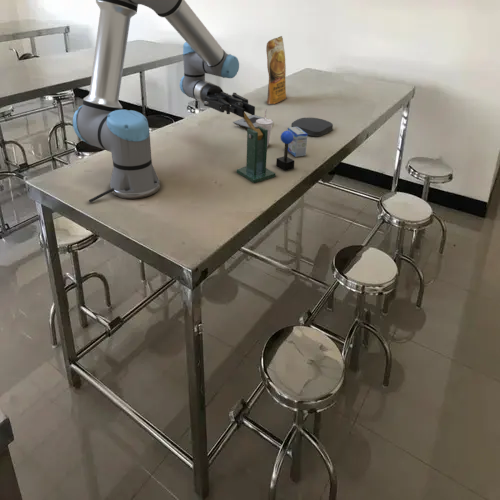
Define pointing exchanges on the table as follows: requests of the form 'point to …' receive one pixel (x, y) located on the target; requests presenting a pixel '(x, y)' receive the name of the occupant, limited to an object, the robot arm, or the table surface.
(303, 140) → the medicine box
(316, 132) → the media streaming box
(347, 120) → the table surface
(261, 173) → the switch bracket
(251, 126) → the switch lever
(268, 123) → the smoothie
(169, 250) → the table surface
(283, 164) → the blue knob joystick
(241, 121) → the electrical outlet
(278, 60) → the pancake mix bag
